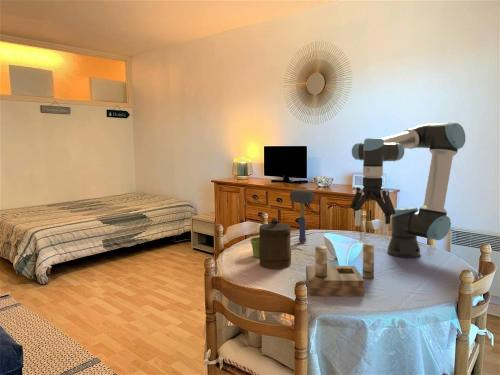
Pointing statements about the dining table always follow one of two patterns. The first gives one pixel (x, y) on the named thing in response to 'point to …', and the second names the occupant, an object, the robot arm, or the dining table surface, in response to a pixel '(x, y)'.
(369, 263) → the beech peg
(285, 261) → the wooden container
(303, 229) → the rubber mallet
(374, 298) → the dining table surface
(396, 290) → the dining table surface
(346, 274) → the board
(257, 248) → the plant pot
